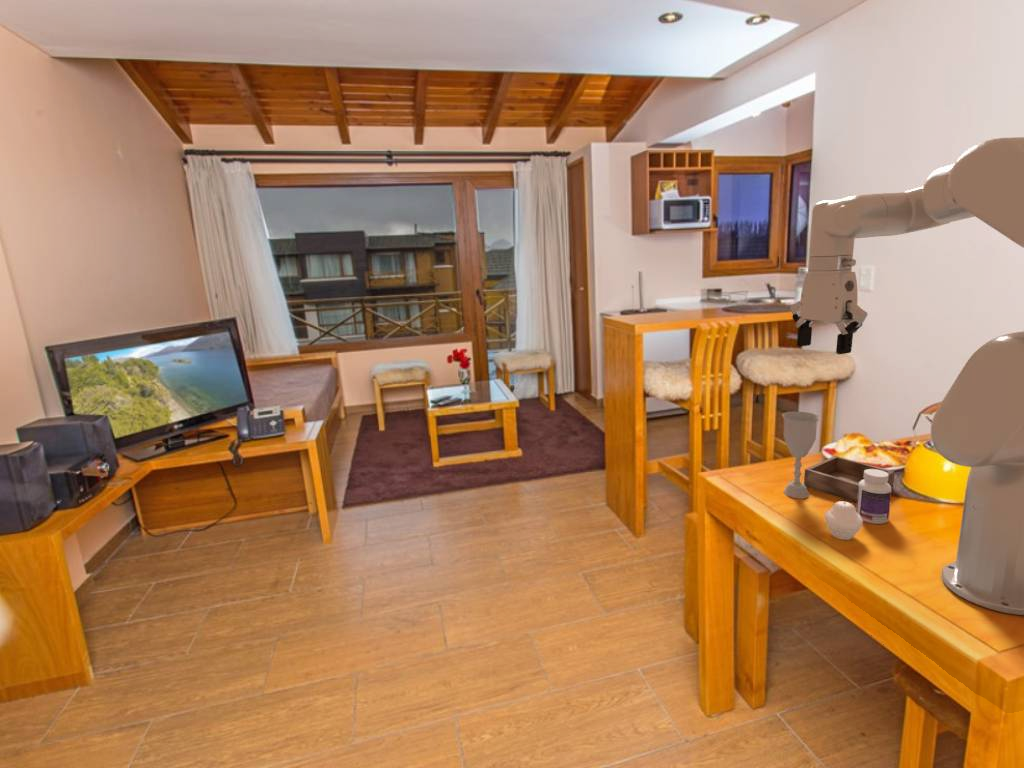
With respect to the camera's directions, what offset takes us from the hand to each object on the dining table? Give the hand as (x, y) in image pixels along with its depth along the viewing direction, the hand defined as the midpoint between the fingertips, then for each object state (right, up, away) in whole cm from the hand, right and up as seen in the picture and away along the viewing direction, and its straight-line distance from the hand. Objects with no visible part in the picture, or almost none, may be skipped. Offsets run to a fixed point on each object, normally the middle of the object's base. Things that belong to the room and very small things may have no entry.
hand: (822, 349), depth 110 cm
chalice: (-1, -32, +8) cm, 33 cm away
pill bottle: (+7, -34, -4) cm, 35 cm away
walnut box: (+11, -30, +9) cm, 34 cm away
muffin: (-2, -36, -10) cm, 37 cm away
